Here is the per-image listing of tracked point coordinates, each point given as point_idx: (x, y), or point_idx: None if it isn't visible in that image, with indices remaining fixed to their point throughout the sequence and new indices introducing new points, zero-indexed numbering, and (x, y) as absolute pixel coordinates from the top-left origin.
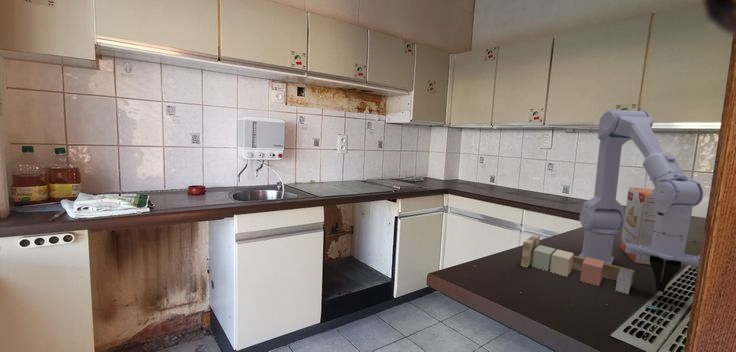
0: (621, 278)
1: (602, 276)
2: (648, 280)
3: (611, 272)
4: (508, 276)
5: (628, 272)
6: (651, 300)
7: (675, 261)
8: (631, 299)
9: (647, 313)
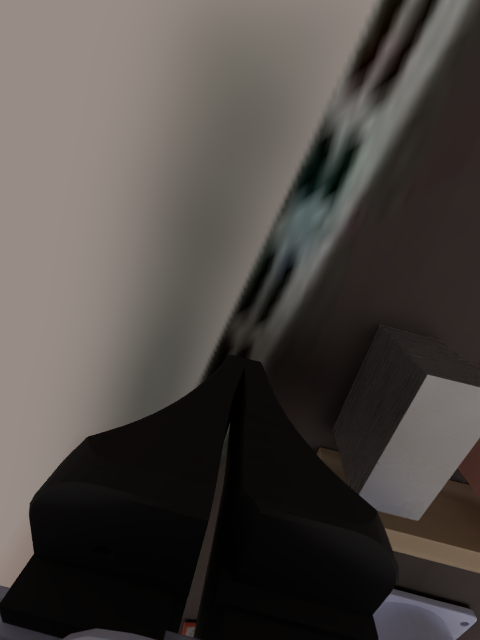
0: (476, 379)
1: (465, 460)
2: None
3: None
4: None
5: (389, 483)
6: (281, 315)
7: (68, 621)
8: (385, 268)
9: (361, 92)
